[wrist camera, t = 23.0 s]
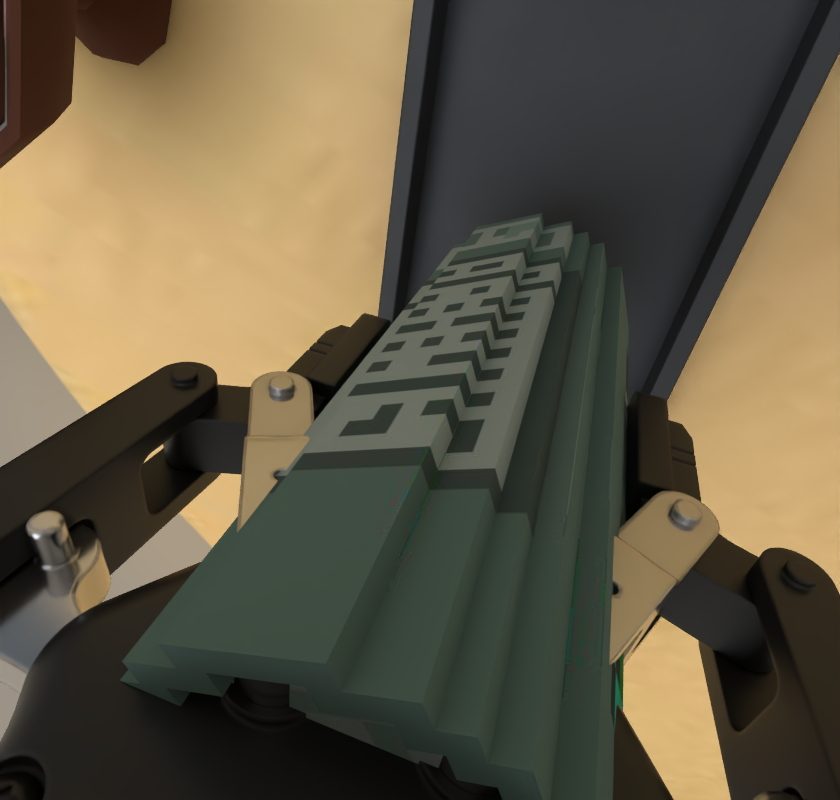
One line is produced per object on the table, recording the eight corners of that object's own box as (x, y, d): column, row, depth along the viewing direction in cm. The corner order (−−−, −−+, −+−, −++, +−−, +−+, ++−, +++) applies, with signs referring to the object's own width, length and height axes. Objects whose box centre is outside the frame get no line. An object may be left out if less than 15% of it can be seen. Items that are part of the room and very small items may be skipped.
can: (462, 397, 21) (245, 872, 9) (417, 239, 19) (30, 629, 7) (635, 382, 19) (638, 995, 7) (613, 197, 16) (557, 690, 4)
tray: (1189, -731, 10) (1305, -889, 8) (639, 426, 25) (639, 456, 24) (525, -711, 12) (507, -837, 10) (387, 353, 27) (370, 375, 26)
